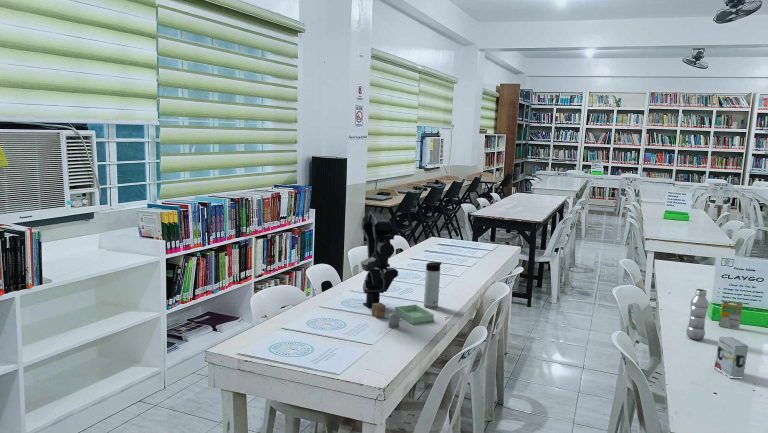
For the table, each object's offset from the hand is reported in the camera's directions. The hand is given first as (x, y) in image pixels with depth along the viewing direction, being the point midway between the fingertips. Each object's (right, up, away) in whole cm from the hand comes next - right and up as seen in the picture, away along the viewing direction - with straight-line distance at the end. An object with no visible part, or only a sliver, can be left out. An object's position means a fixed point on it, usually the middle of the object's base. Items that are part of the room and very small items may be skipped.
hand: (379, 288), depth 236 cm
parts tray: (+14, -12, +2) cm, 19 cm away
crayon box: (+148, -18, +9) cm, 150 cm away
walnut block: (-1, -12, +2) cm, 12 cm away
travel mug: (+22, -10, +18) cm, 30 cm away
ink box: (+119, -24, -40) cm, 128 cm away
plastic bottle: (+125, -19, -7) cm, 127 cm away
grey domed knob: (+6, -14, -9) cm, 17 cm away
